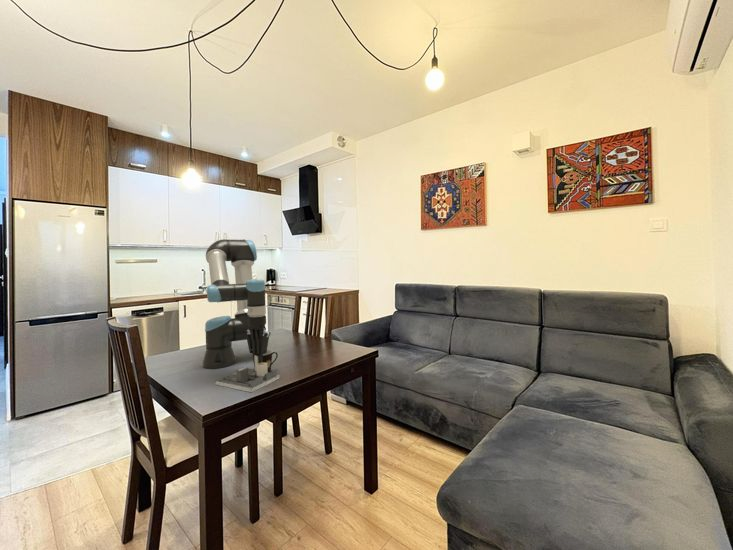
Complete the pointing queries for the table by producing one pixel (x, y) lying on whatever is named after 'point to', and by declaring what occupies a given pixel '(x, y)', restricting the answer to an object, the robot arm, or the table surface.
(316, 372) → the table surface
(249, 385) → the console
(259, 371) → the fader
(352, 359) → the table surface
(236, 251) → the robot arm
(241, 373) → the block
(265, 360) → the coffee mug
